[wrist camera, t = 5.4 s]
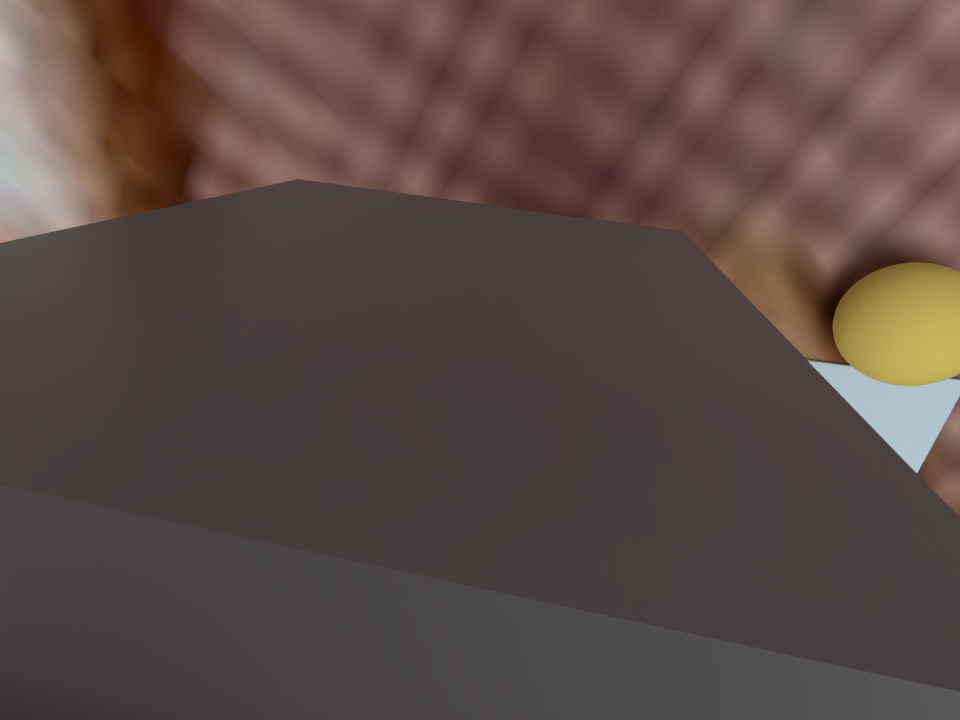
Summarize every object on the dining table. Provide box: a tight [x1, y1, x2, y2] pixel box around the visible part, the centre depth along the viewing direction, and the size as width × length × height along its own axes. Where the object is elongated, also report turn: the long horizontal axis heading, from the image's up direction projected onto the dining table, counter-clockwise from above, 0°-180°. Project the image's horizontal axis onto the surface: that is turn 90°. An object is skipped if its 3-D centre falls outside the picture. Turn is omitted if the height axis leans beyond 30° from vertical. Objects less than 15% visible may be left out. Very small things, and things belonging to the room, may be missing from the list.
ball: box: [833, 262, 960, 386], centre depth 21 cm, size 5×5×5 cm
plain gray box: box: [0, 179, 960, 720], centre depth 8 cm, size 10×8×9 cm
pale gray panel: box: [806, 359, 960, 473], centre depth 27 cm, size 12×10×1 cm
